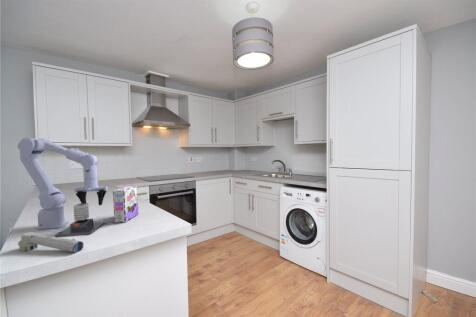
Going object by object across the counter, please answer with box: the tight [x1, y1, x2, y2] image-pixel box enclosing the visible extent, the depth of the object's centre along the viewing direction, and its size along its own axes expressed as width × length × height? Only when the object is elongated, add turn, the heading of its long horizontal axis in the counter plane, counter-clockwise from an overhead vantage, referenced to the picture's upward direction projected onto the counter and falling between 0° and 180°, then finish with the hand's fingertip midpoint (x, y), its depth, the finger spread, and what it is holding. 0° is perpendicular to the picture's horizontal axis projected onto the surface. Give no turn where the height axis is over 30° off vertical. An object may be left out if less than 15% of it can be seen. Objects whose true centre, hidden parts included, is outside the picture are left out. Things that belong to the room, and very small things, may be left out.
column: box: [73, 202, 90, 222], centre depth 99 cm, size 4×4×7 cm
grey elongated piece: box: [17, 231, 85, 254], centre depth 80 cm, size 5×7×25 cm
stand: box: [54, 218, 107, 238], centre depth 100 cm, size 14×14×4 cm
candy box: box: [112, 185, 139, 224], centre depth 114 cm, size 14×6×16 cm, turn 179°
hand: (92, 205), depth 109 cm, fingers open, 7 cm apart
